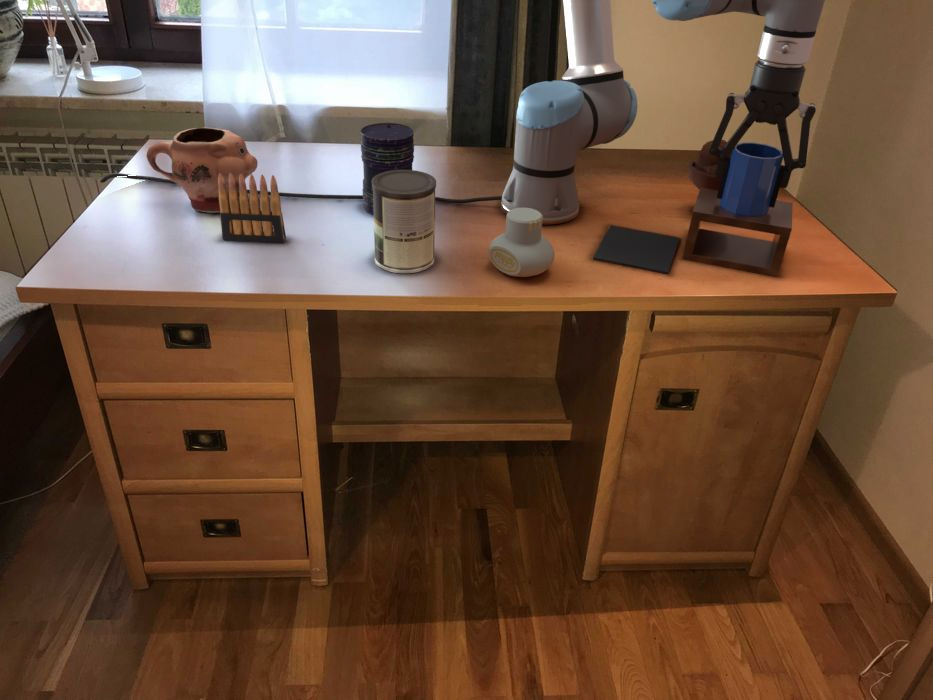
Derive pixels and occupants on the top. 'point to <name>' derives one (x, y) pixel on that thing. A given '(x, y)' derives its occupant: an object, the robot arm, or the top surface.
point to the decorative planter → (204, 163)
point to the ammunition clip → (250, 211)
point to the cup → (751, 178)
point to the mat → (637, 249)
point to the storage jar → (384, 153)
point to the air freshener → (522, 245)
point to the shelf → (734, 247)
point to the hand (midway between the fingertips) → (745, 200)
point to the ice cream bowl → (705, 168)
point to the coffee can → (404, 220)
